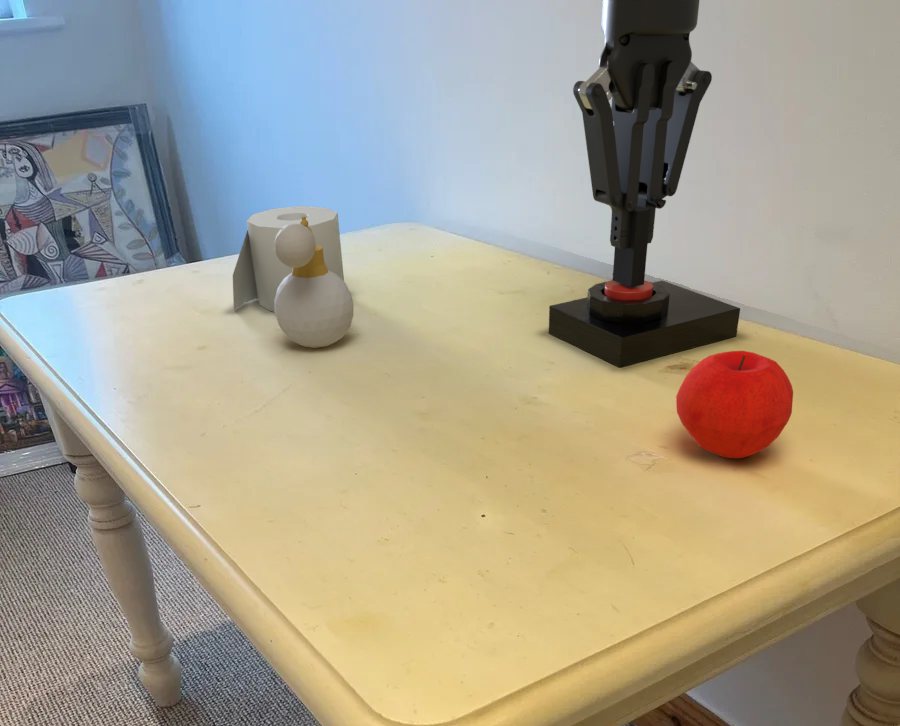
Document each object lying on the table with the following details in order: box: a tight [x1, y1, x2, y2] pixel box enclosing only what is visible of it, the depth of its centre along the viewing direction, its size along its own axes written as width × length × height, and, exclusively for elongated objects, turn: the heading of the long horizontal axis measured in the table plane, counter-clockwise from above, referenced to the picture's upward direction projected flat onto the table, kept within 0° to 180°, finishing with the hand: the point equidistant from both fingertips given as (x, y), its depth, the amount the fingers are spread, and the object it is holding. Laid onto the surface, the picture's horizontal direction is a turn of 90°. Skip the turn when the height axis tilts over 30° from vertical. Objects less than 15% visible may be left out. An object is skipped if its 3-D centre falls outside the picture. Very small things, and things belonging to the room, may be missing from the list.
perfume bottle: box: [273, 216, 354, 349], centre depth 86 cm, size 8×10×12 cm
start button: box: [604, 279, 653, 300], centre depth 87 cm, size 4×4×2 cm
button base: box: [548, 280, 741, 368], centre depth 88 cm, size 14×11×4 cm
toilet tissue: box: [232, 205, 345, 312], centre depth 99 cm, size 9×13×9 cm
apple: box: [675, 350, 794, 459], centre depth 67 cm, size 8×8×7 cm
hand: (628, 282), depth 86 cm, fingers closed
